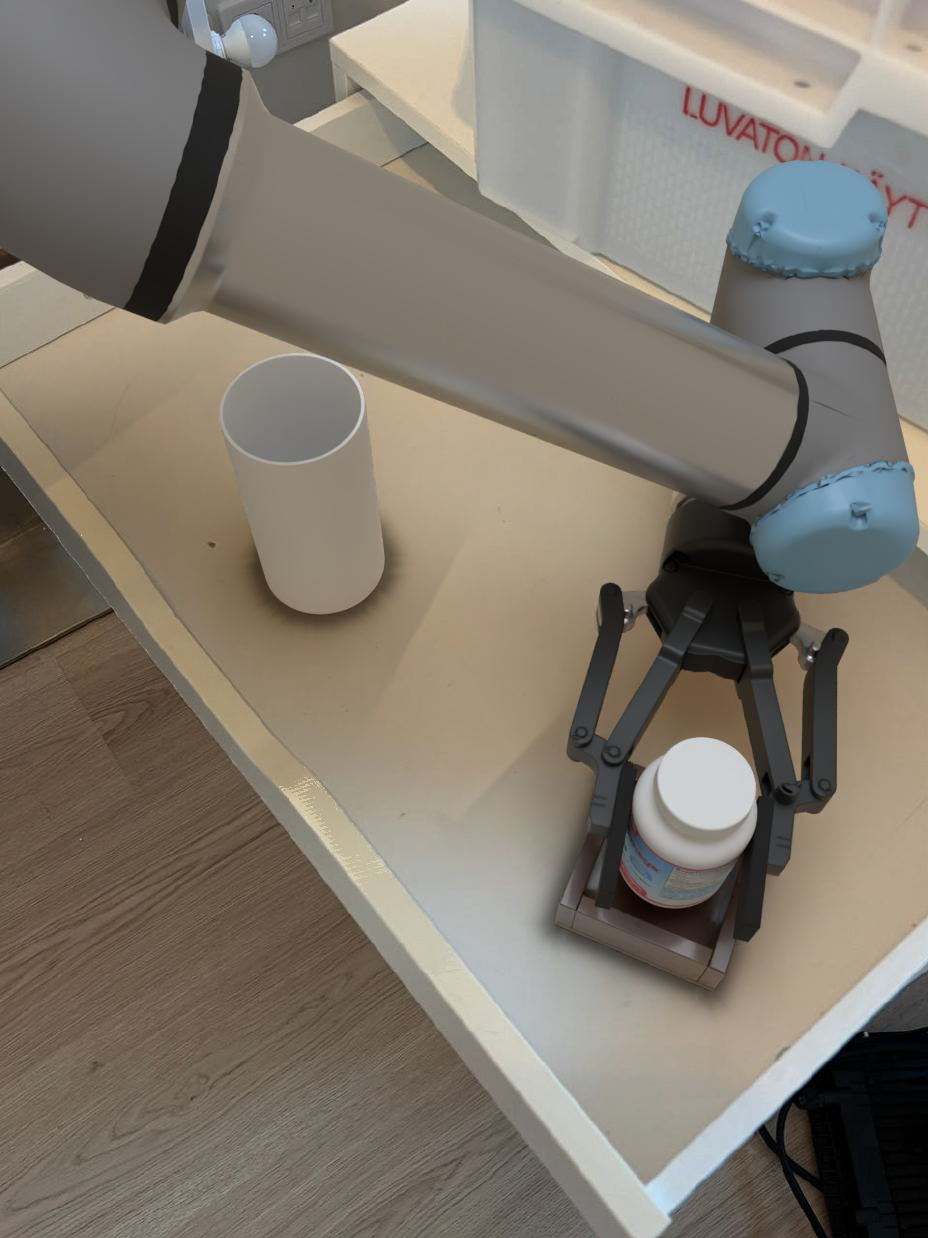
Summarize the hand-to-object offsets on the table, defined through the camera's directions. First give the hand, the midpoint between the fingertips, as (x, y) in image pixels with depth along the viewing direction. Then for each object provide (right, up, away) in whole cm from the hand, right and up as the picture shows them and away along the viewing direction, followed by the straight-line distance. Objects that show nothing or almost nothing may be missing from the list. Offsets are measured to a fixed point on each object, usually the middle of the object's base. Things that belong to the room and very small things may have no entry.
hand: (675, 915), depth 55 cm
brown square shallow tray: (+1, -1, +12) cm, 12 cm away
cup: (-20, +18, +23) cm, 35 cm away
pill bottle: (+1, +1, +8) cm, 8 cm away
